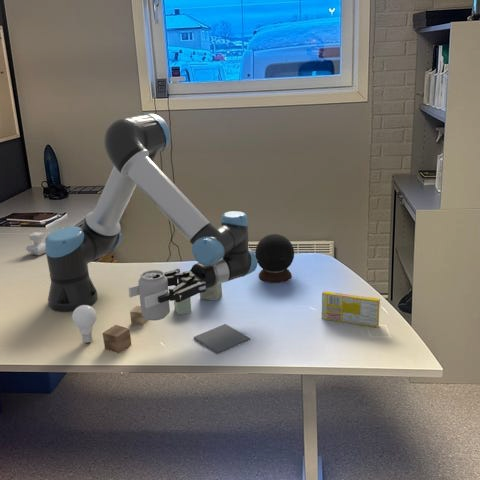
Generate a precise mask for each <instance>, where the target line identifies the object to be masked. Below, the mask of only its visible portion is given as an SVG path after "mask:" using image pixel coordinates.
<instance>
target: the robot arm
mask: <svg viewBox="0 0 480 480" xmlns="http://www.w3.org/2000/svg"><path fill="white" fill-rule="evenodd" d="M169 129H170V128H169V125H168V124H167V122H166V121H165V120H164V118H163V117H161V116H160V115H157V114H155V113H147V112H146V113H142V114H139V115H134V116H130V117H125V118H124V117H123V118H119V119H116V120H115V121H113V122H112V123H110V125H109V126H108V128H106V130H105V134H104V138H103V140H104V141H103V145H104V150H105V152H106V156H107V157H108V159H109V161H110V162H111V163H112V165H113V167H112V170H111V172H110V174H109V175H108V176H109V177H108V178H107V181H106V183H105V185H104V188H103V189H102V191H101V194H100V197H99V198H98V200H97V204H96V206H94V207H95V208H94V210H92V211H90V212H88V213H87V214H86V215H85V219H84V220H83V222H82V224H81V226H79V227H78V226H75V225H74V226H72V225H71V226H65V227H63V228H61V227H60V228H57V229H54V230H52V231H51V232H50V233H48V234H47V235H46V237H45V241H44V243H45V246H46V247H45V252H46V253H45V254H46V259H47V264H48V266H47V267H48V270H49V271H48V272H49V277H50V286H49V291H48V295H47V296H48V297H47V303H48V307H49V308H50V310H53V311H55V312H56V311H57V312H74V310H75V309H76V308H77V307H79V306H81V305H89V306H91V307H92V306H93V305H94V304H95V303H96V302H97V300H98V299H99V298H98V291H97V289H96V287H95V285H94V282H93V281H92V279H91V277H90V273H89V265H88V264H90V263H92V262H93V261H96V260H97V259H99V258H101V257H103V256H105V255H109V254H110V253H112V252H113V251H114V250H115V249H117V248H118V246H119V245H120V243H121V241H122V233H121V231H122V230H121V228H122V227H121V224H120V221H121V219H122V216H123V214H124V212H125V210H126V208H127V206H128V203H129V202H130V199H131V197H132V195H133V194H134V191H135V189H136V187H138V188H139V189H140V190H141V192H143V193H144V194H145V196H146V197H147V198H148V199H150V201H151V202H152V203H153V204H154V205H155V207H157V208H158V210H160V212H161V213H163V214H164V216H165V217H166V218H167V219H168V220H169V221H170V223H172V224H173V226H174V227H175V228H176V229H177V230H178V231H179V232H180V233H181V234H182V235H183V236H184V237H185V238H186V240H188V242H190V244H191V245H192V246H191V253H192V255H193V259H194V260H195V261H196V262H197V263H194V264H193V265H192V266H191V268H190V270H186V271H181V269H180V268H175V269H173V270H169V271H166V272H164V274H165V276H166V277H167V280H168V291H167V290H165V291H162V292H159V293H156V294H153V295H150V296H147V297H144V299H145V307H146V308H148V307H151V306H154V305H157V304H160V303H163V302H165V301H168V300H169V302H170V301H171V302H172V301H173V302H174V300H176V302H181V301H183V300H185V299H187V298H189V297H190V298H192V297H193V296H196V295H198V294H200V293H202V292H205V291H206V289H207V288H210V287H213V286H215V285H219V284H221V285H222V284H224V283H227V282H229V281H232V280H236V279H239V278H242V277H245V276H248V275H250V274H252V273H254V272H255V271H256V269H257V267H258V262H257V259H256V255H255V252H254V250H252V249H250V248H249V221H248V215H247V214H246V212H244V211H243V212H242V211H240V210H239V211H238V210H234V211H233V210H231V211H230V210H229V211H227V212H226V211H225V212H224V213H222V214H221V219H220V224H221V225H220V226H218V227H215V226H214V225H213V224H212V223H211V222H210V221H209V220H208V219H207V218H206V216H204V214H202V212H201V211H200V210H199V209H198V208H197V207H196V206H195V205H194V204H193V203H192V202H191V200H190V199H189V198H188V197H187V196H186V195H185V194H184V193H183V192H182V191H181V190H180V188H178V187H177V186H176V184H174V182H173V181H172V180H171V179H170V178H169V177H168V176H167V175H166V174H165V173H164V172H163V171H162V170H161V168H160V167H159V166H158V165H157V164H156V163H155V162H154V161H156V158H157V156H158V154H159V153H162V152H164V150H166V149H167V148H168V147H169V145H170V142H171V131H170V130H169ZM172 286H175V287H173V288H171V287H172ZM169 287H170V288H169ZM128 294H129V295H128V296H129V298H133V297H136V296H140V293H139V283H138V284H136V285H131V286H128ZM180 296H181V297H180Z"/></svg>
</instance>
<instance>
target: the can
mask: <svg viewBox="0 0 480 480" xmlns="http://www.w3.org/2000/svg"><path fill="white" fill-rule="evenodd" d="M164 273H165V272H164V271H162V270H159V269H151V270H146V271H144V272H142V273H141V274H140V278H138V284H139V293H140V295H139V300H140V301H139V303H140V306H141V314H142V316H143V317H145V318H146V319H148V321H160V320H163V319H165V318H166V317H167V316H168V315H169V314H170V312H171V310H170V307H171V306H170V300H168V301H165V302H163V303H160V304H157V305H154V306H151V307H148V308H146V307H145V299H144V297H147V296H150V295H153V294H156V293H159V292H162V291H165V290H167V291H168V292H169V286H168V280H167V277H166V276H165V274H164Z"/></svg>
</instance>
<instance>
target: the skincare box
mask: <svg viewBox="0 0 480 480" xmlns="http://www.w3.org/2000/svg"><path fill="white" fill-rule="evenodd" d="M222 295H223V287H222V283H221V284H219V285H215V286H213V287H210V288H207V289H206V291H205V292H202V293H199V298H200V299H201V300H211V301H219V299H220V298H221V297H222Z"/></svg>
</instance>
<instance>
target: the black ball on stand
mask: <svg viewBox="0 0 480 480" xmlns="http://www.w3.org/2000/svg"><path fill="white" fill-rule="evenodd" d="M254 253H255V255H256V259H257V265H258V266H259V267H260V268H261V270H260V272H259V273H258V278H259V280H261V281H262V282H265V283H267V284H268V283H269V284H270V283H271V284H280V283H285V282H287V281H289V280H291V278H292V273H291V271H290V270H289V269H288V268H289V267H291V265H292V263H293V261H294V259H295V250H294V245H293V244H292V242H291V241H290V240H289V239H288V238H287V237H285V236H284V235H282V234H278V233H277V234H276V233H275V234H274V233H273V234H268V235H266V236H264V237H263V238H261V239H260V240H259V241H258V243H257V245H256V247H255V252H254Z"/></svg>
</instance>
